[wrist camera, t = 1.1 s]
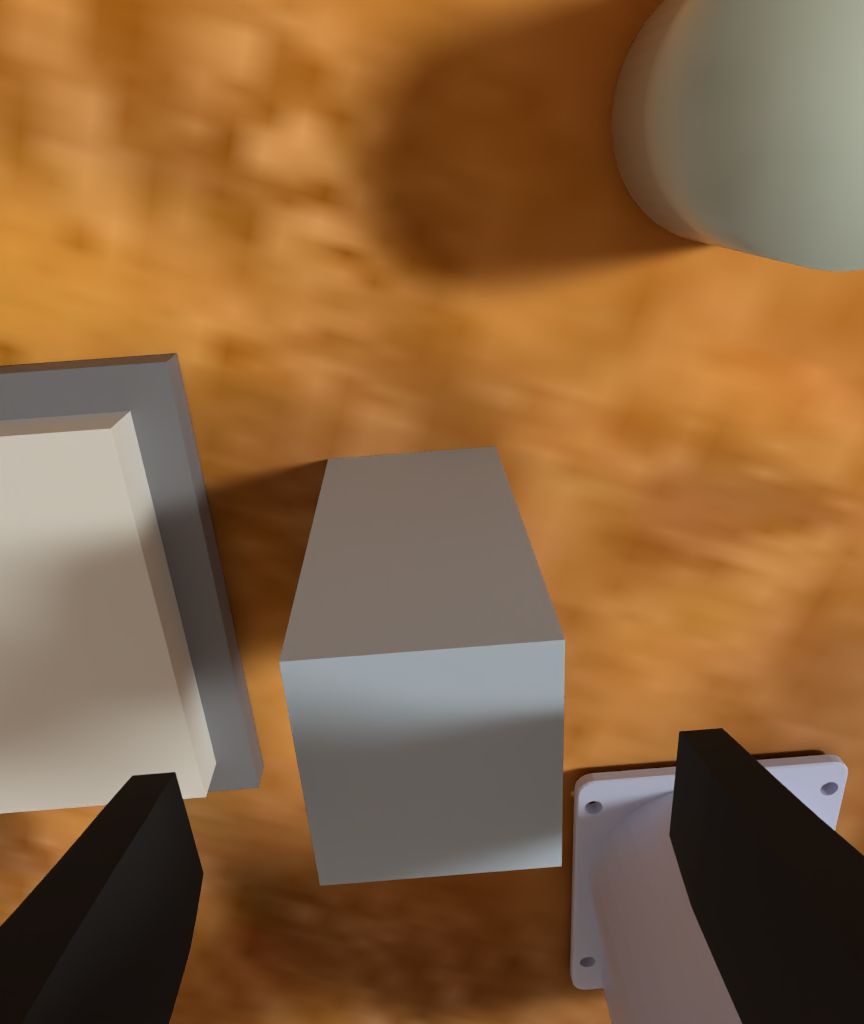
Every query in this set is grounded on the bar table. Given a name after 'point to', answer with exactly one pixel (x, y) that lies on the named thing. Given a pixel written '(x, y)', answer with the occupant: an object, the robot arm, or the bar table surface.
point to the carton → (425, 674)
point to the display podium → (111, 592)
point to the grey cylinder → (749, 126)
